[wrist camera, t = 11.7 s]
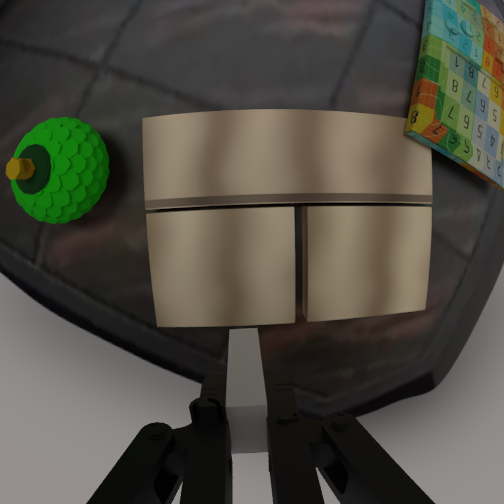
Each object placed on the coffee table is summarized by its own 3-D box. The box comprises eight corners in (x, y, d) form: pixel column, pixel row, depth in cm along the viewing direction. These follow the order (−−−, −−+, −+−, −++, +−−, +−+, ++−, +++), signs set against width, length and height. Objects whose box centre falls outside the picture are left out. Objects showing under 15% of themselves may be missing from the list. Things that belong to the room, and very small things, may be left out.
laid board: (153, 207, 25) (145, 210, 23) (151, 123, 24) (142, 118, 21) (418, 201, 26) (432, 203, 23) (415, 125, 24) (429, 121, 22)
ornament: (39, 150, 23) (-33, 143, 14) (110, 110, 23) (49, 79, 13) (63, 230, 25) (-8, 253, 15) (137, 196, 25) (80, 204, 15)
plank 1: (163, 316, 27) (157, 326, 24) (154, 212, 25) (146, 213, 23) (290, 312, 27) (295, 322, 25) (289, 206, 25) (294, 206, 23)
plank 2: (302, 312, 27) (307, 322, 25) (301, 205, 25) (307, 206, 23) (413, 301, 27) (425, 309, 25) (418, 205, 26) (431, 207, 23)
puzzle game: (518, 30, 17) (512, 191, 20) (495, 41, 22) (481, 189, 25) (437, -33, 16) (418, 129, 19) (417, -13, 21) (390, 138, 24)
